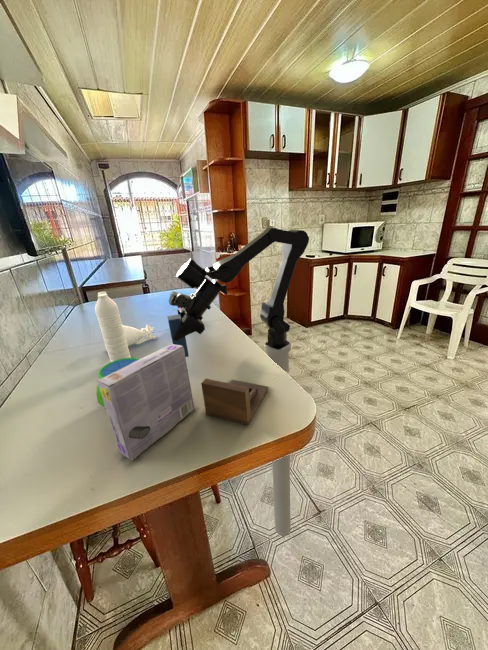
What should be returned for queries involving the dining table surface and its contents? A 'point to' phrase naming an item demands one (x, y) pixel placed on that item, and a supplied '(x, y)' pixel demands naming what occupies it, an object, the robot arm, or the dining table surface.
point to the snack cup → (111, 369)
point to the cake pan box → (147, 399)
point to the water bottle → (111, 327)
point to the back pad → (174, 325)
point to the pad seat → (232, 399)
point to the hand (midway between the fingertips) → (173, 337)
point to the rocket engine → (137, 334)
